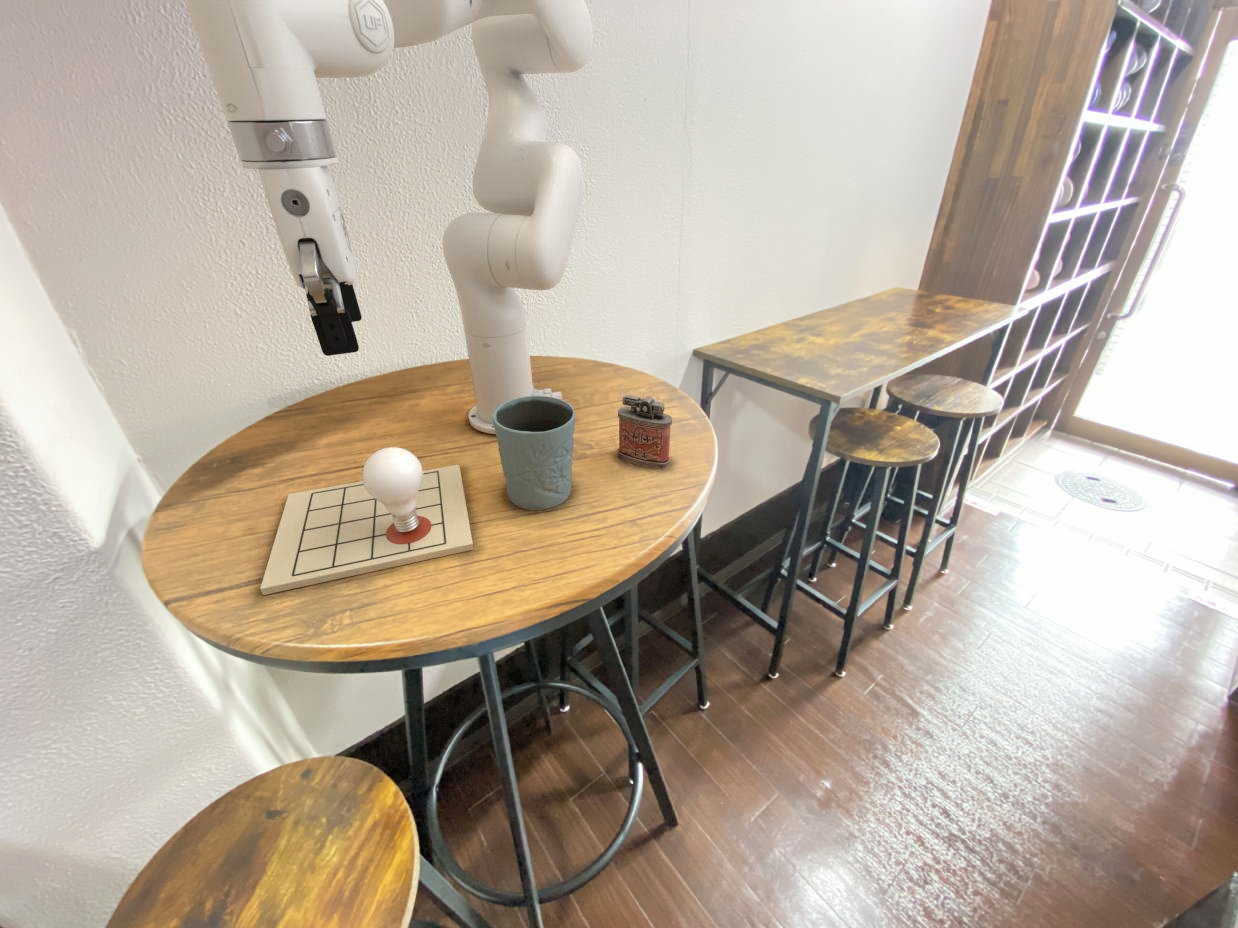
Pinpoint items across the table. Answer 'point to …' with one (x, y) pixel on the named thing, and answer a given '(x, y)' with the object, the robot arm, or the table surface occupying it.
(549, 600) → the table surface
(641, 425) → the lighter
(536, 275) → the robot arm
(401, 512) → the lightbulb
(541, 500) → the grey green cup
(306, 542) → the board
